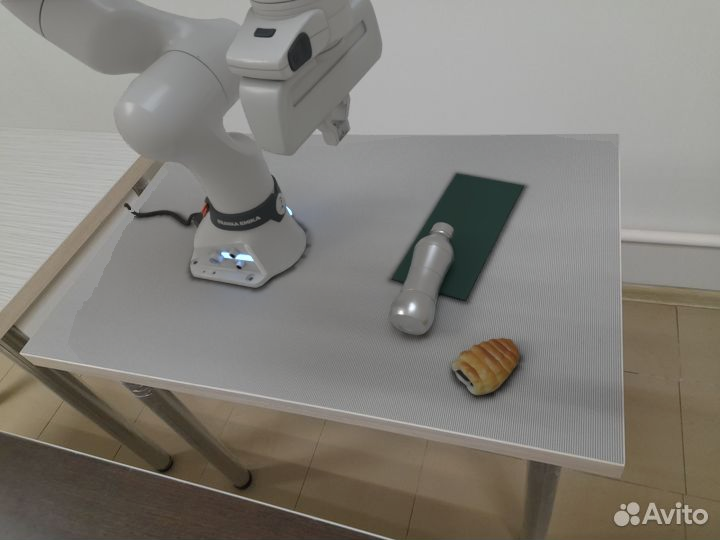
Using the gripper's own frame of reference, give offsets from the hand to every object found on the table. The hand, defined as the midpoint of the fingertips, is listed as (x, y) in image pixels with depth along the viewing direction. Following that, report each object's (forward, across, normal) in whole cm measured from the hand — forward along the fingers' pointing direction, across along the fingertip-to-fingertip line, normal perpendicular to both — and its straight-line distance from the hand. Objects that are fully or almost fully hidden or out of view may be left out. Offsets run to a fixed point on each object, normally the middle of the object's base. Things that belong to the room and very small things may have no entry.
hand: (338, 137), depth 59 cm
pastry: (+33, +4, +18) cm, 38 cm away
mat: (+33, -20, +4) cm, 39 cm away
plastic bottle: (+30, +4, +6) cm, 31 cm away
